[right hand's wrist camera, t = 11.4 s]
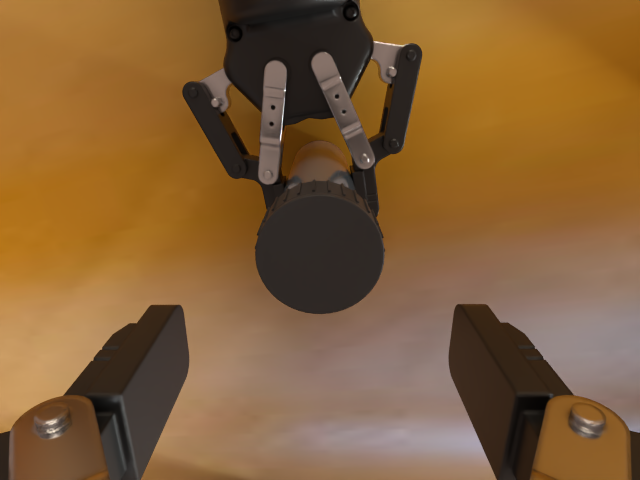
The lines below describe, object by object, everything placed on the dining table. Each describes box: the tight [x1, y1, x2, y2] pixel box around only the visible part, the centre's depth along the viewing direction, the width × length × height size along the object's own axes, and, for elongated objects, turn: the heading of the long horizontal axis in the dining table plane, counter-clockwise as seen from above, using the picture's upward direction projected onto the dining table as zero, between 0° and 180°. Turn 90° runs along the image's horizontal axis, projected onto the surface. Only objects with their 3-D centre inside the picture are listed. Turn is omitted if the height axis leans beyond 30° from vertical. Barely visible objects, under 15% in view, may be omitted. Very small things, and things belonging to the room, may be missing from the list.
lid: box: [255, 180, 385, 314], centre depth 18 cm, size 5×5×2 cm
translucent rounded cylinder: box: [283, 141, 357, 193], centre depth 25 cm, size 4×4×17 cm
